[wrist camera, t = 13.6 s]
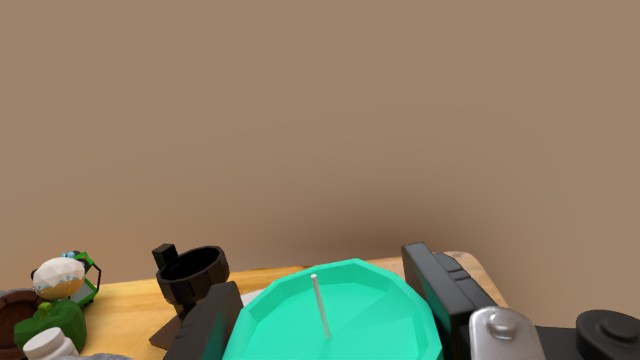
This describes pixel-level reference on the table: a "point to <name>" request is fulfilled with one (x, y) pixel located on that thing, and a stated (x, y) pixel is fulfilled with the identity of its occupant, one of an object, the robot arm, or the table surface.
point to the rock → (95, 357)
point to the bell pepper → (54, 323)
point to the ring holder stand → (186, 282)
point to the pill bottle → (49, 346)
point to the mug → (15, 317)
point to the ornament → (59, 277)
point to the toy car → (87, 289)
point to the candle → (336, 318)
